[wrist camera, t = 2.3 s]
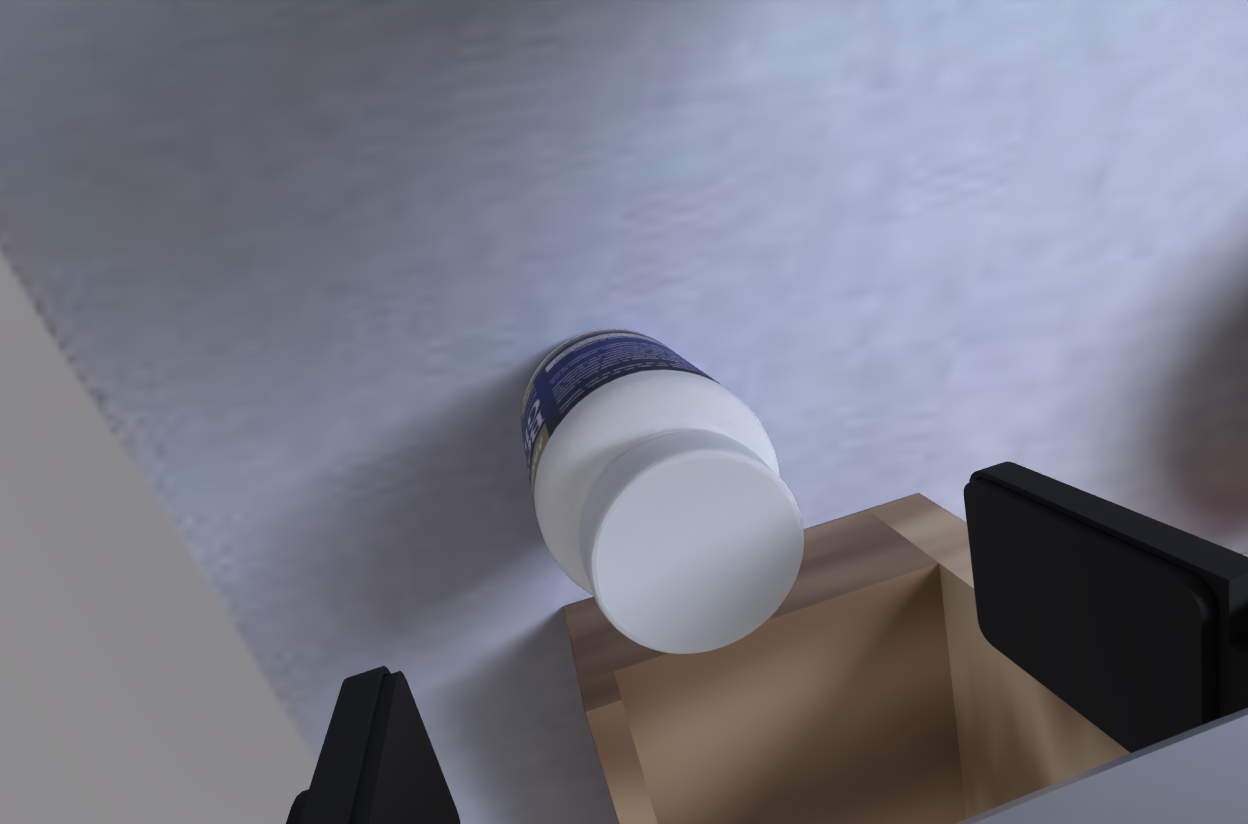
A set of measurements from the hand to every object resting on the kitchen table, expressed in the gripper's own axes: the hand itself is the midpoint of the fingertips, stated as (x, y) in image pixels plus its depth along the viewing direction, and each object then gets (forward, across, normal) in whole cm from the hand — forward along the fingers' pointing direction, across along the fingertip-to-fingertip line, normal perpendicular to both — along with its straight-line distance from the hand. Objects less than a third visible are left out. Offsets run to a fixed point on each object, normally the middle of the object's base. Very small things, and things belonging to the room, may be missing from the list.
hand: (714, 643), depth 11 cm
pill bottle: (+11, -1, -1) cm, 11 cm away
